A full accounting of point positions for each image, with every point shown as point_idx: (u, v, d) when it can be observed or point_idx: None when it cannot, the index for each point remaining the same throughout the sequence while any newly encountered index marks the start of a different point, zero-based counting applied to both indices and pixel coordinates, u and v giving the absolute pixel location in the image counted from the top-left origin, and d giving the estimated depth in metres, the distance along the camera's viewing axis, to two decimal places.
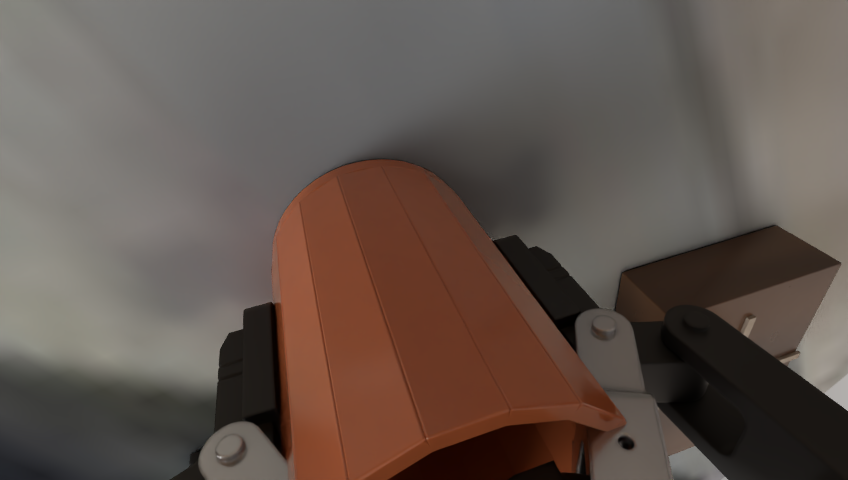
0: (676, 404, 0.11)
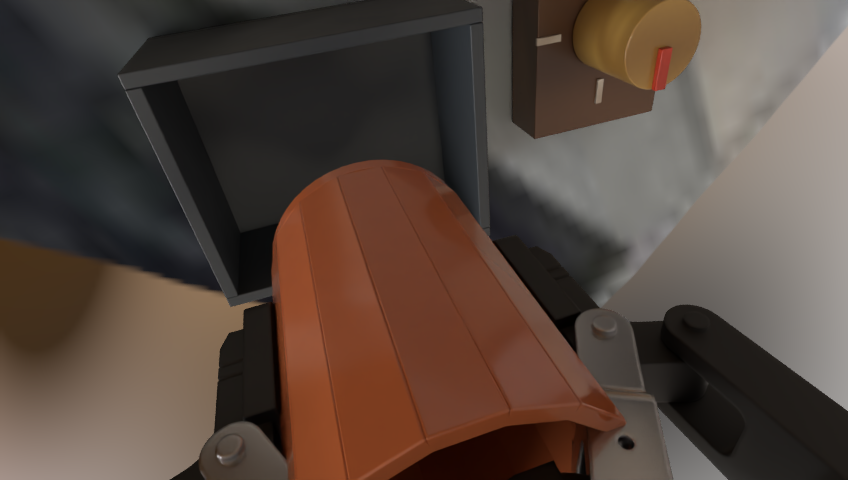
0: (676, 404, 0.11)
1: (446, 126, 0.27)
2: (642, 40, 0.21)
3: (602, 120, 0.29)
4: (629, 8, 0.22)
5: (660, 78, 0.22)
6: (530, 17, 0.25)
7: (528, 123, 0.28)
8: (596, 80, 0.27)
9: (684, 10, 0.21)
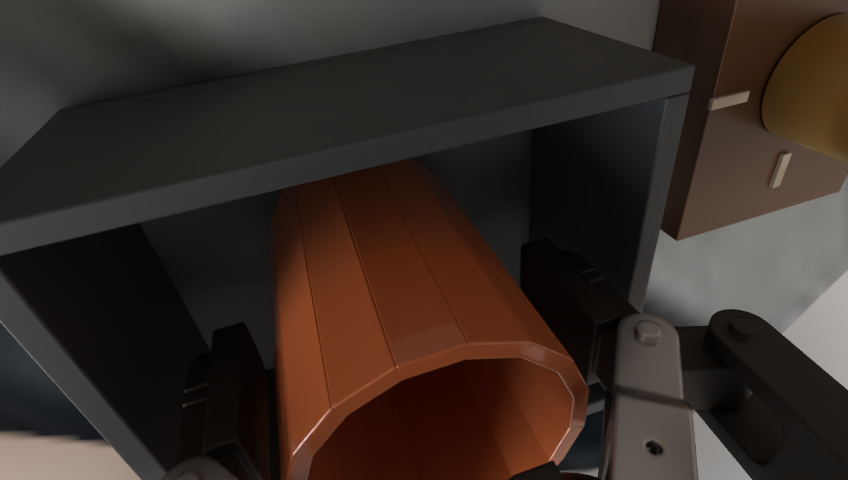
0: (714, 409, 0.11)
1: (547, 227, 0.17)
2: None
3: (772, 209, 0.19)
4: None
5: None
6: (698, 63, 0.15)
7: (665, 216, 0.18)
8: (780, 155, 0.17)
9: None
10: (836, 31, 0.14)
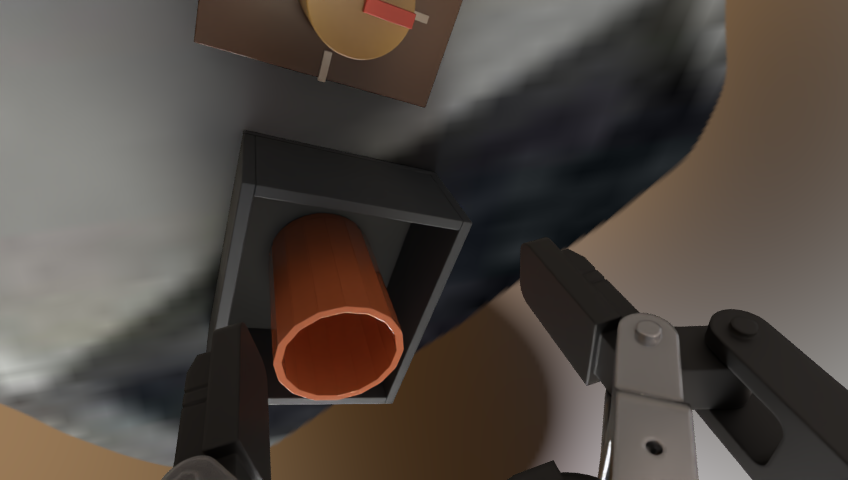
0: (715, 409, 0.11)
1: None
2: (341, 32, 0.17)
3: (453, 17, 0.23)
4: (307, 16, 0.18)
5: (399, 19, 0.17)
6: None
7: None
8: None
9: None
10: None
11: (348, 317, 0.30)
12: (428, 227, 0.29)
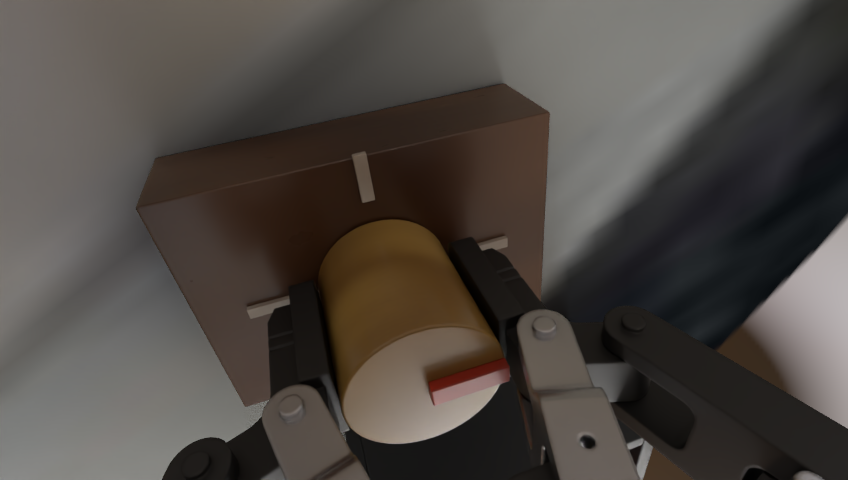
0: (625, 405, 0.11)
1: None
2: (414, 426, 0.12)
3: (540, 217, 0.15)
4: None
5: (487, 383, 0.11)
6: None
7: None
8: None
9: (362, 387, 0.10)
10: None
11: None
12: None
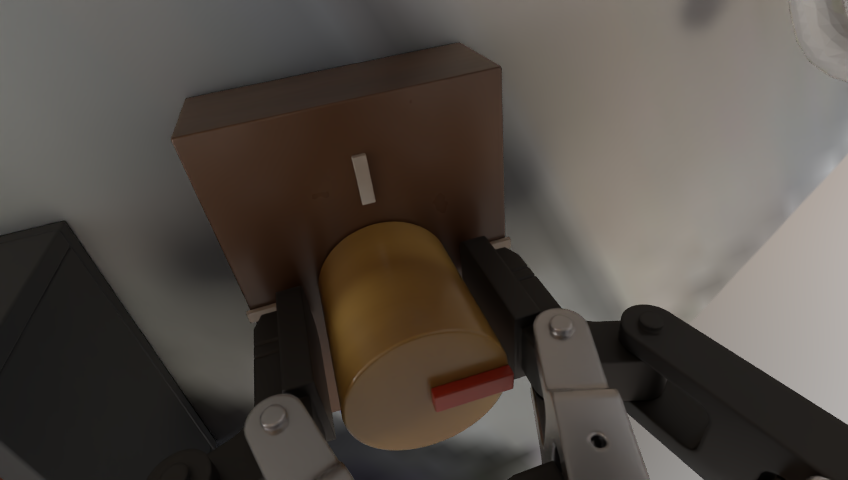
0: (639, 404, 0.11)
1: None
2: (414, 432, 0.11)
3: None
4: None
5: (491, 390, 0.11)
6: None
7: None
8: None
9: (364, 392, 0.10)
10: None
11: None
12: None
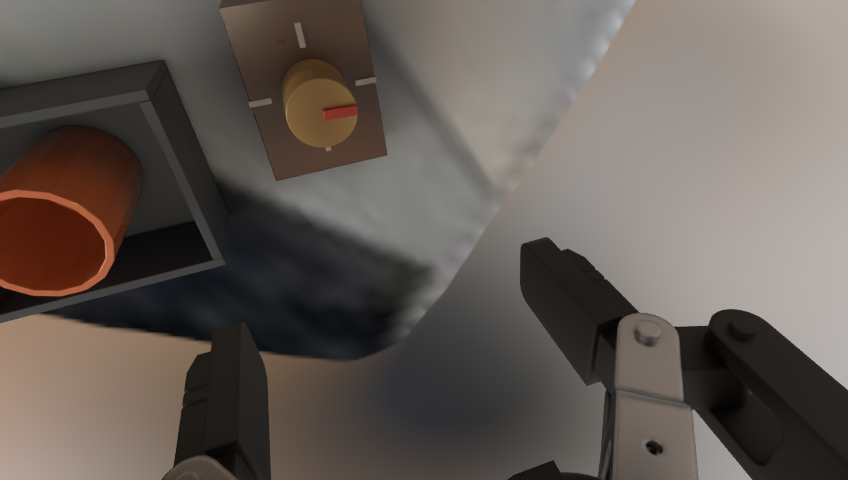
0: (714, 409, 0.11)
1: None
2: (318, 135, 0.27)
3: (339, 164, 0.33)
4: None
5: (348, 113, 0.27)
6: None
7: None
8: None
9: (294, 105, 0.26)
10: None
11: (52, 230, 0.29)
12: (189, 239, 0.33)
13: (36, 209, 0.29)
